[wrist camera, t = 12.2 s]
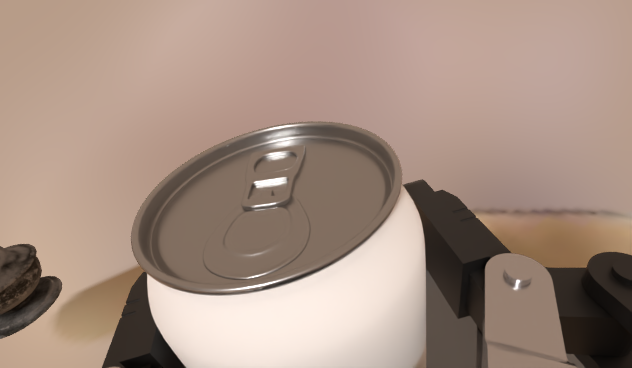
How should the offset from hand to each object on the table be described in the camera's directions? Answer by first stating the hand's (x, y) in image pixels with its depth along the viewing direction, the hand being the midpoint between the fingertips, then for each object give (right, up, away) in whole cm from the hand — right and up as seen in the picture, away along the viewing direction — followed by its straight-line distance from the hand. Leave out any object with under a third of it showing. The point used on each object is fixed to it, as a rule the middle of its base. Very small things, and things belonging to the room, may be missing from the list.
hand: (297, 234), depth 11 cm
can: (+2, -8, +3) cm, 9 cm away
